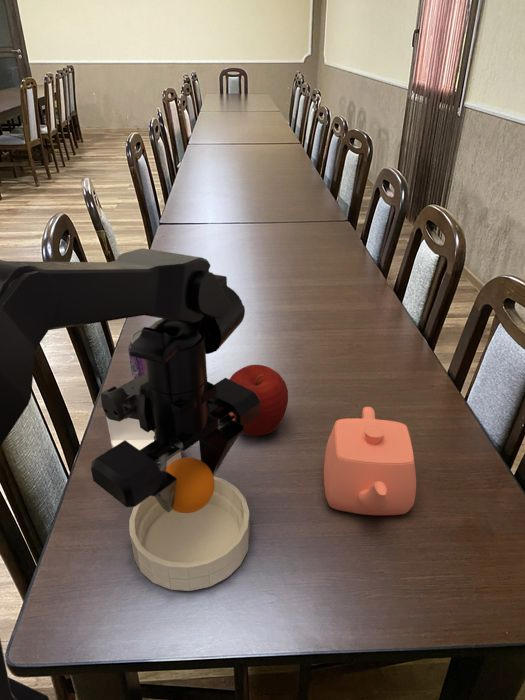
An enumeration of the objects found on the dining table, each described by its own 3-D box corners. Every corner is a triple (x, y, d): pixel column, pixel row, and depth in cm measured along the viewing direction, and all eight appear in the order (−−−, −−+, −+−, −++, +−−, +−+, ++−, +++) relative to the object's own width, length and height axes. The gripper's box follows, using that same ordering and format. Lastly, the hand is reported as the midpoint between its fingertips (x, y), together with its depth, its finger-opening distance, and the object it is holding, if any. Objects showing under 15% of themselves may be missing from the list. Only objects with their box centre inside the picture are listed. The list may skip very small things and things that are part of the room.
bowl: (189, 618, 56) (187, 591, 54) (110, 547, 63) (104, 521, 61) (272, 536, 65) (272, 510, 62) (194, 483, 72) (192, 458, 70)
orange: (187, 534, 57) (183, 494, 54) (151, 506, 61) (145, 467, 57) (226, 501, 61) (224, 462, 58) (190, 477, 64) (186, 438, 61)
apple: (225, 450, 78) (223, 394, 73) (224, 410, 86) (222, 357, 81) (290, 447, 79) (293, 391, 73) (283, 407, 87) (284, 354, 81)
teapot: (401, 451, 78) (412, 393, 72) (421, 556, 63) (437, 492, 57) (322, 446, 79) (327, 388, 73) (322, 548, 63) (328, 484, 58)
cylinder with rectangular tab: (109, 489, 71) (95, 418, 65) (123, 444, 79) (112, 376, 73) (177, 489, 71) (170, 418, 65) (185, 443, 79) (179, 376, 73)
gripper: (190, 317, 62) (198, 422, 70) (44, 388, 50) (74, 506, 58) (264, 350, 56) (263, 461, 64) (117, 440, 44) (139, 563, 52)
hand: (188, 493), depth 60 cm, fingers closed on orange, 6 cm apart
